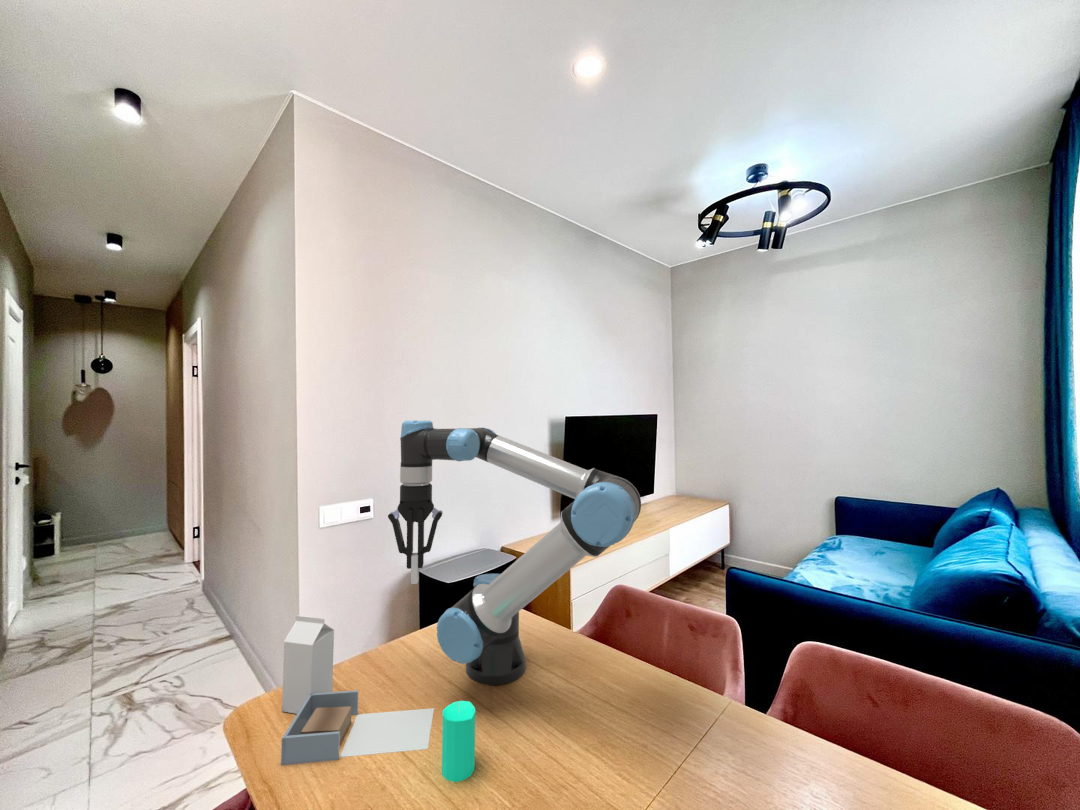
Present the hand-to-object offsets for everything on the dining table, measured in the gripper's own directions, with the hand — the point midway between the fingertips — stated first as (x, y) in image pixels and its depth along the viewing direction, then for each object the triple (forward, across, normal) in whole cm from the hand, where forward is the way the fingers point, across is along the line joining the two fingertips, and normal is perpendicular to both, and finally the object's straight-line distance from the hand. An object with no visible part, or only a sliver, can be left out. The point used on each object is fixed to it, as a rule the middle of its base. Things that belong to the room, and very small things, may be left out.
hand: (414, 581), depth 106 cm
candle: (+25, -11, +28) cm, 39 cm away
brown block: (+25, +15, +16) cm, 33 cm away
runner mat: (+24, +3, +16) cm, 29 cm away
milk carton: (+24, +22, +4) cm, 33 cm away
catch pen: (+24, +16, +16) cm, 33 cm away
